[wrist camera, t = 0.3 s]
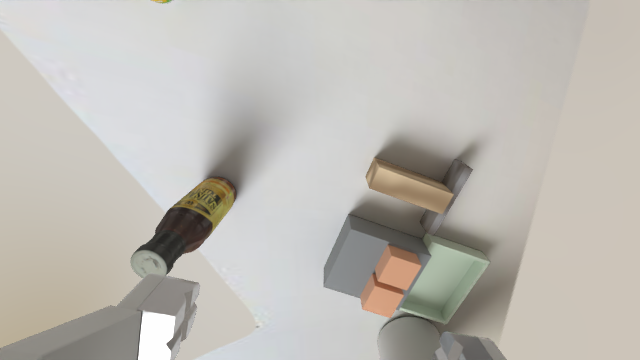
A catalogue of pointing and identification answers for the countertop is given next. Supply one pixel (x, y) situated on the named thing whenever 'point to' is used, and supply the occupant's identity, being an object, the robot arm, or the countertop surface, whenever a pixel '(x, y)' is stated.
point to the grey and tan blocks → (420, 188)
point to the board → (366, 255)
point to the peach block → (397, 267)
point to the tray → (444, 279)
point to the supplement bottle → (162, 1)
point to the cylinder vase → (408, 339)
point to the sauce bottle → (185, 226)
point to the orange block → (380, 297)
